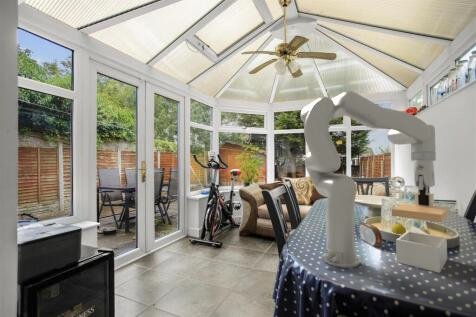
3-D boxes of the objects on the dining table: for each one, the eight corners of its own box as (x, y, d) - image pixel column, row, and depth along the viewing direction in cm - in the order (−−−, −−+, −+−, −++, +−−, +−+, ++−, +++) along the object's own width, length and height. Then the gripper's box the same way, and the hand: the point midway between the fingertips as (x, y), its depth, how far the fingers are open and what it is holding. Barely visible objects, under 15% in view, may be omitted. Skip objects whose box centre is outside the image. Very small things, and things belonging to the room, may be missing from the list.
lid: (441, 222, 76) (440, 198, 76) (391, 215, 86) (391, 195, 86) (449, 214, 88) (448, 194, 88) (404, 209, 98) (404, 191, 98)
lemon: (404, 239, 110) (403, 222, 111) (408, 243, 105) (407, 225, 105) (390, 238, 112) (390, 221, 113) (393, 242, 107) (393, 224, 107)
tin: (383, 249, 98) (382, 228, 99) (375, 249, 98) (375, 228, 99) (364, 238, 113) (364, 220, 114) (357, 238, 114) (357, 220, 114)
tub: (439, 272, 77) (439, 247, 77) (396, 261, 86) (395, 239, 86) (447, 259, 87) (446, 237, 88) (407, 250, 96) (407, 231, 97)
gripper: (431, 156, 84) (433, 208, 83) (439, 157, 94) (440, 203, 94) (406, 157, 89) (407, 206, 89) (416, 157, 100) (417, 201, 99)
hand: (424, 204), depth 91 cm, fingers closed
